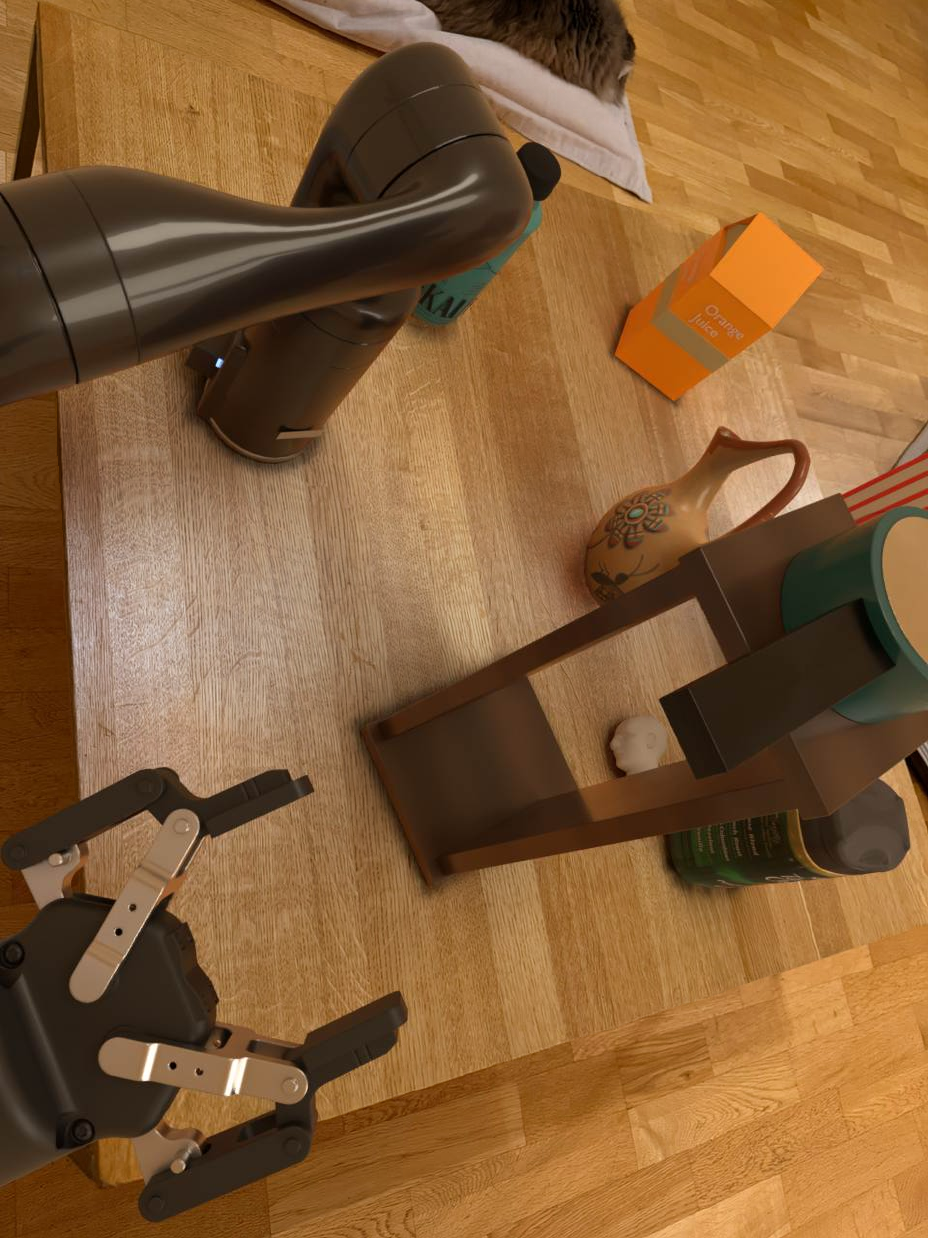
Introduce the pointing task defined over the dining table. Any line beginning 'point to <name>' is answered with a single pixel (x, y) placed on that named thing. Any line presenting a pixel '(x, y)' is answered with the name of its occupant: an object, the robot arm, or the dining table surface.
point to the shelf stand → (639, 803)
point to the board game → (891, 491)
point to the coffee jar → (797, 844)
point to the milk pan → (821, 648)
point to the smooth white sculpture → (639, 743)
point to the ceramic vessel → (678, 515)
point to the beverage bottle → (457, 292)
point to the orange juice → (715, 304)
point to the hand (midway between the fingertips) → (355, 892)
